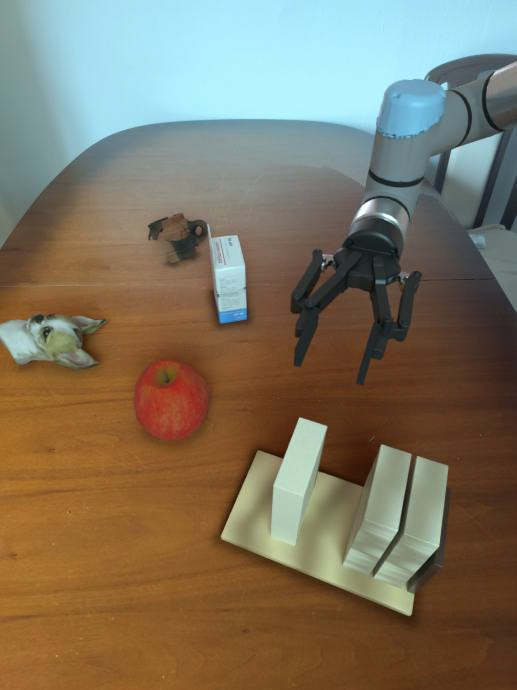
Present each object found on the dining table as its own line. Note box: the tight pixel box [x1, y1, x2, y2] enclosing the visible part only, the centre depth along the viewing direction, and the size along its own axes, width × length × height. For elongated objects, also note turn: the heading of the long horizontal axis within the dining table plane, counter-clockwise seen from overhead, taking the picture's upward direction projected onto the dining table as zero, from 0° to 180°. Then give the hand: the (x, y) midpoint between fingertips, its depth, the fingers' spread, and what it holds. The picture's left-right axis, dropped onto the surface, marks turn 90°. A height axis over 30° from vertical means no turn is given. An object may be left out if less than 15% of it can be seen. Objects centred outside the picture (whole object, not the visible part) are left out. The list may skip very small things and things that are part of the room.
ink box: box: [206, 223, 248, 324], centre depth 74 cm, size 9×5×15 cm, turn 10°
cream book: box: [271, 416, 329, 546], centre depth 49 cm, size 3×8×14 cm, turn 159°
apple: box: [133, 358, 211, 442], centre depth 61 cm, size 10×10×10 cm
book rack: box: [220, 443, 452, 617], centre depth 49 cm, size 22×12×15 cm, turn 69°
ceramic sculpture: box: [0, 313, 108, 371], centre depth 69 cm, size 11×9×15 cm
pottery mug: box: [147, 212, 208, 264], centre depth 89 cm, size 12×10×8 cm
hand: (329, 366), depth 45 cm, fingers open, 6 cm apart
